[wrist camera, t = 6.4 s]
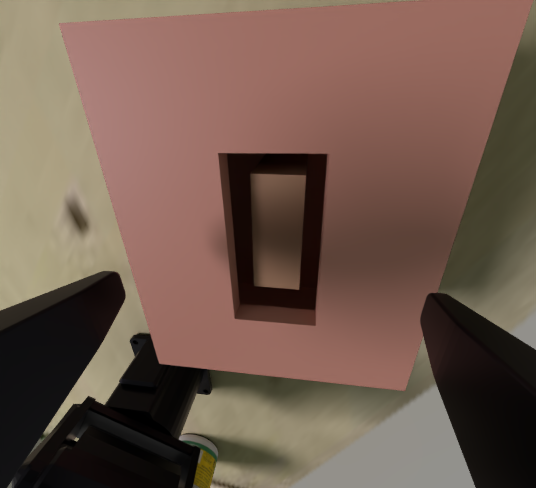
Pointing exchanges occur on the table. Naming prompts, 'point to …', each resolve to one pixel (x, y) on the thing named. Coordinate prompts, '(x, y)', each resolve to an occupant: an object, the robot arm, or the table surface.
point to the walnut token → (278, 219)
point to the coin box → (318, 171)
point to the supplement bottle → (203, 459)
